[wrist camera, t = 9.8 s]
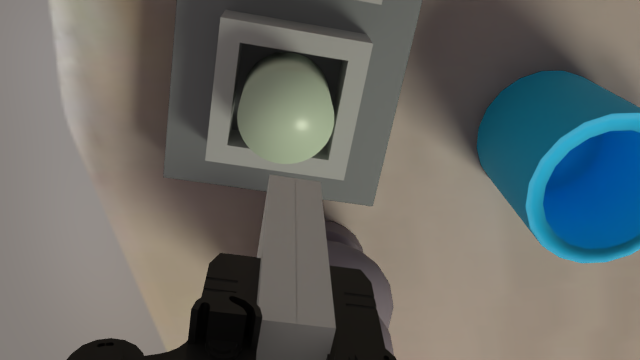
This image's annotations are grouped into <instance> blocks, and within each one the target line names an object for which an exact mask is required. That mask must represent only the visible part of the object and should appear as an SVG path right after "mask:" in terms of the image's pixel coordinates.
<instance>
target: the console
mask: <svg viewBox="0 0 640 360" xmlns="http://www.w3.org/2000/svg"><path fill="white" fill-rule="evenodd" d="M421 4H422V0H177V4H176V17H175V30H174V43H173V57H172V70H171V83H170V96H169V109H168V122H167V135H166V149H165V162H164V175H163V177H166V178H173V179H180V180H187V181H194V182H201V183H209V184H216V185H223V186H230V187H237V188H244V189H252V190H259V191H266V192H267V188H268V182H269V176H270V175H276V176H283V177H290V178H297V179H304V180H311V181H317V182H321V191H322V199H323V200H330V201H338V202H345V203H352V204H359V205H366V206H373V203H374V199H375V195H376V190H377V186H378V182H379V178H380V174H381V170H382V166H383V161H384V157H385V153H386V149H387V145H388V141H389V137H390V132H391V128H392V124H393V120H394V116H395V112H396V108H397V103H398V99H399V95H400V91H401V87H402V83H403V79H404V75H405V70H406V66H407V62H408V58H409V54H410V50H411V46H412V41H413V37H414V33H415V29H416V25H417V21H418V17H419V12H420V8H421ZM280 52H291V53H296V54H300V55H303V56H305V57H307V58H309V59H310V60H311V61H313V62H314V63H315V64H316V65H317V66H318V67H319V68H320V69H321V71H322V72H323V74H324V76H325V78H326V80H327V84H328V88H329V92H330V96H331V101H332V105H333V110H334V127H333V131H332V134H331V136H330V138H329V140H328V142H327V143H326V145H325V146H324V147H323V148H322V149H321V150H320V151H319V152H318V153H317V154H316V155H314V156H313V157H311V158H309V159H307V160H305V161H302V162H298V163H293V164H279V163H274V162H270V161H267V160H265V159H263V158H261V157H260V156H258V155H257V154H255V153H254V152H253V151H252V150H251V149H250V148H249V147H248V146H247V145H246V143H245V142H244V140H243V138H242V136H241V134H240V131H239V128H238V122H237V112H238V107H239V103H240V99H241V95H242V92H243V88H244V84H245V81H246V78H247V76H248V74H249V72H250V71H251V69H252V68H253V67H254V66H255V64H256V63H258V62H259V61H260V60H262V59H263V58H265V57H267V56H269V55H272V54H275V53H280Z"/></svg>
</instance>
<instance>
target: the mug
mask: <svg viewBox="0 0 640 360" xmlns="http://www.w3.org/2000/svg"><path fill="white" fill-rule="evenodd" d="M477 151H478V155H479V159H480V163H481V166H482V167H483V169H484V170H485V172H486V173H487V175H488V176H489V178H490V179H491V180H492V182H493V183H494V184H495V186H496V187H497V188H498V189H499V191H500V192H501V193H502V195H503V196H504V197H505V199H506V200H507V201H508V202H509V204H510V205H511V206H512V208H513V209H514V210H515V211H516V213H517V214H518V215H519V217H520V218H521V219H522V221H523V222H524V223H525V224H526V226H527V227H528V228H529V230H530V231H531V232H532V233H533V235H534V236H535V237H536V239H537V240H538V241H539V243H540V244H541V245H542V246H543V247H545V248H546V249H548V250H549V251H551V252H552V253H554V254H555V255H557V256H558V257H560V258H563V259H567V260H571V261H575V262H579V263H598V262H608V261H611V260H615V259H618V258H621V257H625V256H628V255H631V254H633V253H634V252H636V251H638V250H639V249H640V108H639V107H637V106H636V105H634V104H632V103H630V102H628V101H626V100H624V99H623V98H621V97H619V96H617V95H615V94H613V93H611V92H610V91H608V90H606V89H604V88H602V87H600V86H598V85H597V84H595V83H593V82H591V81H589V80H587V79H586V78H584V77H582V76H579V75H575V74H572V73H569V72H566V71H540V72H537V73H534V74H531V75H529V76H526V77H523V78H520V79H518V80H517V81H516V82H514V83H513V84H511V85H510V86H508V87H507V88H505V89H504V90H502V91H501V92H500V94H499V95H498V96H497V97H496V98H495V100H494V101H493V102H492V103H491V104H490V105H489V107H488V108H487V110H486V112H485V114H484V117H483V119H482V121H481V123H480V126H479V129H478V139H477Z"/></svg>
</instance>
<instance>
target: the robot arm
mask: <svg viewBox="0 0 640 360" xmlns="http://www.w3.org/2000/svg"><path fill="white" fill-rule="evenodd" d="M376 308H377V307H376V302H375V299H374V293H373V288H372V283H371V281H370V280H369V279H368V278H367V276H366V275H365V274H364V273H363V272H362V270H361V269H353V268H346V267H338V266H330V265H329V258H328V248H327V239H326V229H325V220H324V210H323V201H322V191H321V182H317V181H311V180H304V179H297V178H290V177H283V176H276V175H270V176H269V182H268V188H267V195H266V201H265V208H264V214H263V220H262V227H261V233H260V239H259V246H258V252H257V258H256V257H248V256H241V255H233V254H225V253H220V254H219V255H218V256H217V257H216V258H215V259H214V260H213V261H212V262H210V263H209V267H208V272H207V276H206V280H205V284H204V289H203V293H202V297H201V298H200V299H198V300H197V301H196V302H195V304H194V305H193V307H192V309H191V318H190V327H189V336H188V341H187V342H186V343H184V344H183V345H182V346H180V347H179V348H177V349H174V350H172V351H169V352H165V353H161V354H155V355H148V356H144V355H143V353H142V352H141V350H140V349H139V348H138V347H137V346H136V345H134V344H132V343H129V342H127V341H125V340H119V339H112V338H110V339H102V340H96V341H93V342H90V343H87V344H85V345H82V346H81V347H80V348H79V349H77V350H76V351H75V352H73V353H72V354H71V355H70V356H69V358H68V359H67V360H396V358H395V356H393V355H392V354H391V353H390V352H389V351H388V350H387V349H386V348H385V344H384V339H383V335H382V330H381V325H380V321H379V316H378V311H377V310H376Z"/></svg>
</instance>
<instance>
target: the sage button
mask: <svg viewBox="0 0 640 360" xmlns="http://www.w3.org/2000/svg"><path fill="white" fill-rule="evenodd" d="M237 122H238V128H239V131H240V134H241V136H242V138H243V140H244V142H245V143H246V145H247V146H248V147H249V148H250V149H251V150H252V151H253V152H254V153H255V154H257V155H258V156H260V157H261V158H263V159H265V160H267V161H270V162H274V163H279V164H293V163H298V162H302V161H305V160H307V159H309V158H311V157H313V156H314V155H316V154H317V153H318V152H319V151H320V150H321V149H322V148H323V147H324V146H325V145H326V143H327V142H328V140H329V138H330V136H331V134H332V131H333V127H334V110H333V105H332V101H331V96H330V92H329V88H328V84H327V80H326V78H325V76H324V74H323V72H322V71H321V69H320V68H319V67H318V66H317V65H316V64H315V63H314V62H313V61H311V60H310V59H309V58H307V57H305V56H303V55H300V54H296V53H291V52H280V53H275V54H272V55H269V56H267V57H265V58H263V59H262V60H260V61H259V62H258V63H256V64H255V66H254V67H253V68H252V69H251V71H250V72H249V74H248V76H247V78H246V81H245V84H244V88H243V92H242V95H241V99H240V103H239V107H238V112H237Z"/></svg>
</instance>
